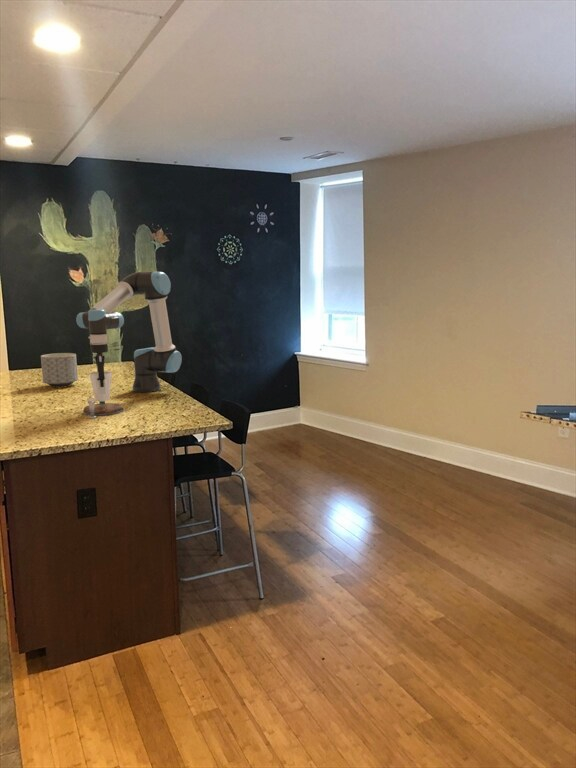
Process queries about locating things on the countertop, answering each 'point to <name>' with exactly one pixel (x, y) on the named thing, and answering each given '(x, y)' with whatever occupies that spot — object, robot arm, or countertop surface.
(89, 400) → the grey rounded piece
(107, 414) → the base
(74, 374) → the planter
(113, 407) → the brown and teal disc
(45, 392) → the countertop surface
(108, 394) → the cup
